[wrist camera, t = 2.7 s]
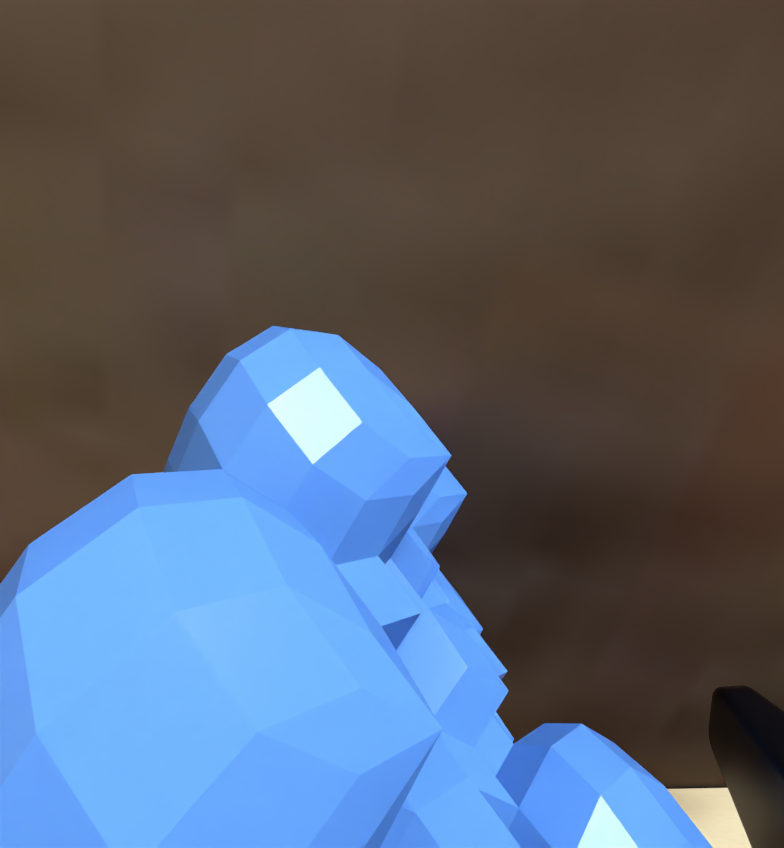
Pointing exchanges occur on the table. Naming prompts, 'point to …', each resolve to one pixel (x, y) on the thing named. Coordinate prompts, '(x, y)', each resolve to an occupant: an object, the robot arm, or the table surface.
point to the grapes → (284, 647)
